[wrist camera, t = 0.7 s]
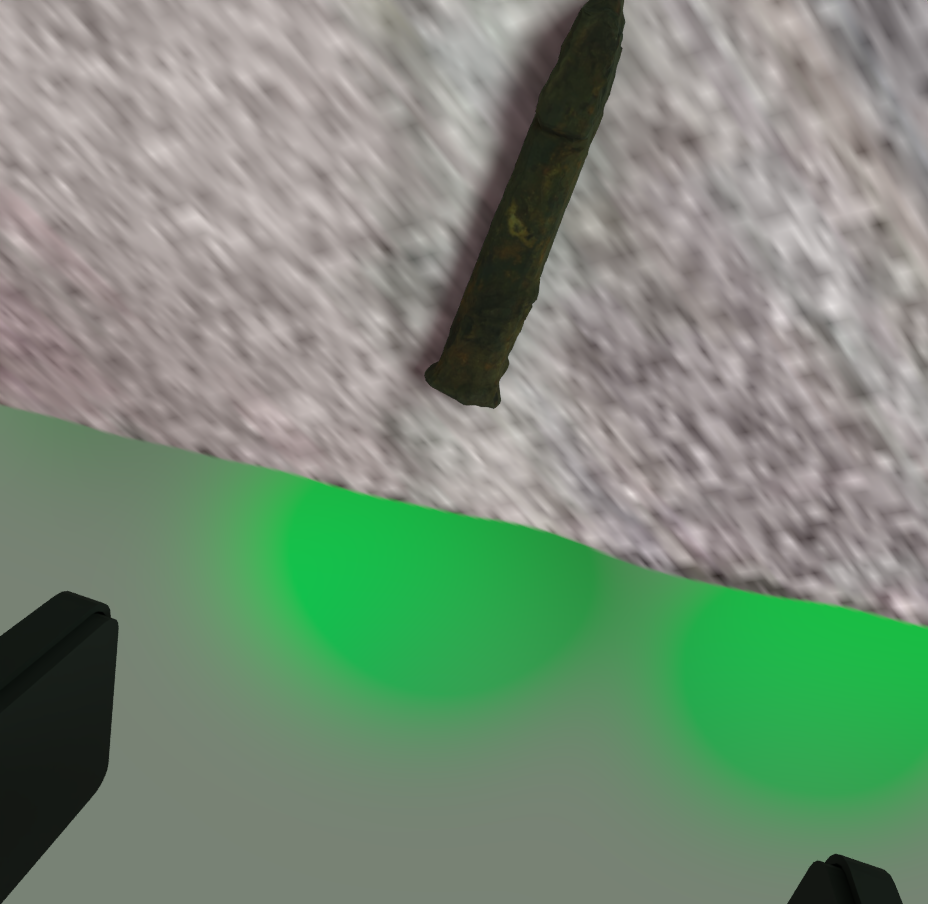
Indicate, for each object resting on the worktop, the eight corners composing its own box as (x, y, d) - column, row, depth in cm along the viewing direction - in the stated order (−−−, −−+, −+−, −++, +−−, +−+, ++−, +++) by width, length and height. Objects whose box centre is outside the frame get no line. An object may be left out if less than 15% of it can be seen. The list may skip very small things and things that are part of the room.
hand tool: (500, 400, 39) (487, 426, 35) (432, 368, 39) (411, 390, 35) (678, 22, 32) (689, -3, 28) (595, -16, 32) (593, -47, 28)
